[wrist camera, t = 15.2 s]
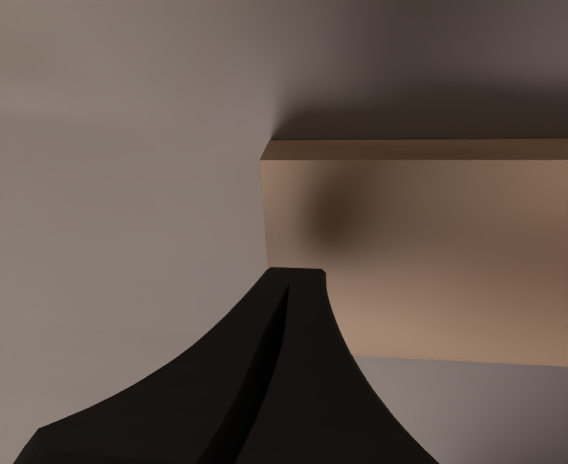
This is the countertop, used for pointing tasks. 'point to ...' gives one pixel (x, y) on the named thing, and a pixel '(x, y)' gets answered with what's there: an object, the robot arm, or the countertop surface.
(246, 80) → the countertop surface
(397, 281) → the press bed
